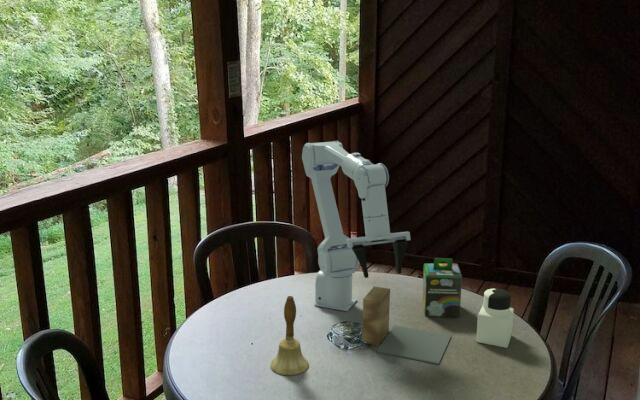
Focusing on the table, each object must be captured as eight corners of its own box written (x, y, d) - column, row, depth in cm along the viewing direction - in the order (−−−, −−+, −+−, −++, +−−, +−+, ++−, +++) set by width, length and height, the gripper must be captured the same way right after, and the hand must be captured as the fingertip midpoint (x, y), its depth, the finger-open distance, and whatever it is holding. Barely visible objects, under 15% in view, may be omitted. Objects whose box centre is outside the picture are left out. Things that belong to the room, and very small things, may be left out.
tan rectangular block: (362, 342, 137) (363, 298, 134) (372, 328, 144) (373, 286, 142) (378, 345, 136) (380, 301, 133) (388, 331, 143) (390, 288, 140)
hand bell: (301, 353, 132) (301, 287, 128) (314, 371, 125) (314, 301, 121) (266, 359, 129) (264, 292, 126) (276, 378, 122) (275, 307, 118)
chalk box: (456, 303, 159) (459, 251, 155) (460, 318, 150) (464, 263, 146) (421, 302, 159) (423, 250, 156) (423, 316, 151) (426, 262, 147)
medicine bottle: (511, 335, 141) (515, 288, 138) (507, 348, 134) (511, 300, 131) (481, 329, 144) (484, 283, 141) (475, 342, 137) (479, 294, 134)
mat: (376, 352, 133) (376, 350, 133) (394, 326, 145) (394, 325, 145) (438, 364, 127) (438, 363, 127) (451, 336, 140) (451, 335, 140)
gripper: (347, 220, 131) (354, 281, 131) (410, 213, 132) (417, 273, 132) (343, 219, 138) (349, 277, 138) (403, 212, 139) (410, 269, 139)
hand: (382, 275), depth 136 cm, fingers open, 7 cm apart
